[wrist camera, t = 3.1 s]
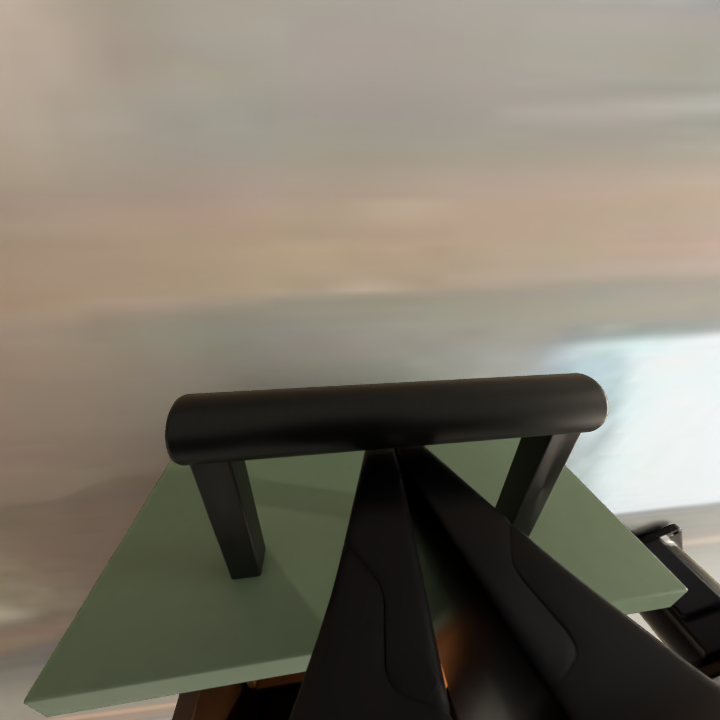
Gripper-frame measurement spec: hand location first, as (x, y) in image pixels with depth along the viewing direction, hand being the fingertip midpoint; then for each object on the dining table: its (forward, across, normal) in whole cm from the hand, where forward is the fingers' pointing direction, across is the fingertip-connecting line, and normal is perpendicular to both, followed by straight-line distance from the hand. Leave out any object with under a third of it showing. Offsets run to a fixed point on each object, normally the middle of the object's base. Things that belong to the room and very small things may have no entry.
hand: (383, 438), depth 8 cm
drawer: (+3, 0, +9) cm, 9 cm away
